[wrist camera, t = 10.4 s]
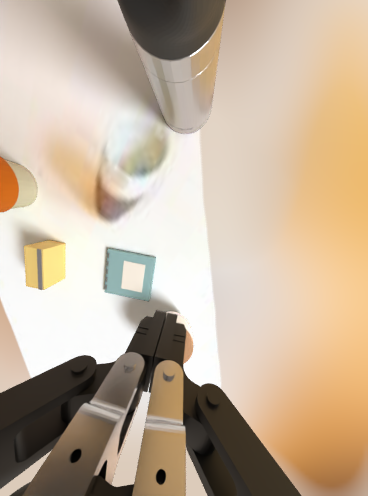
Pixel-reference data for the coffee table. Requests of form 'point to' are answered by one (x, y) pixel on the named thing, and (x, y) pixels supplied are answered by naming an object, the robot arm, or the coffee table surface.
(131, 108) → the coffee table surface
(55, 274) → the yellow box with stripe
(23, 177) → the reusable coffee cup
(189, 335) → the lidded jar
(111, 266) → the spiral notebook
